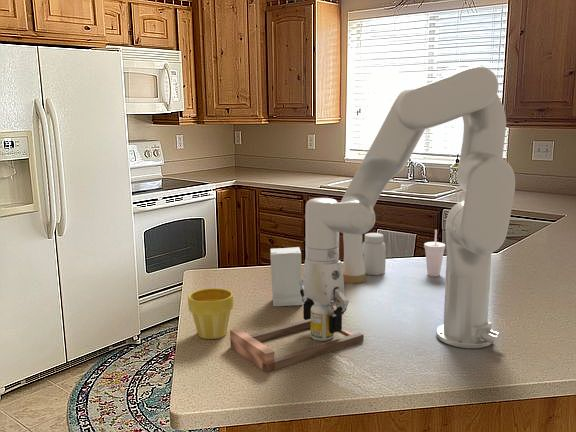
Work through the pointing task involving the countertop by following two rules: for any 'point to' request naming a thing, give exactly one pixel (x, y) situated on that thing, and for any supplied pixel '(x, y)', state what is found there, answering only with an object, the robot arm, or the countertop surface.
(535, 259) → the countertop surface
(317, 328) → the supplement bottle
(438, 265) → the smoothie
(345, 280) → the toiletry set
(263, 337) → the frame
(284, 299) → the skincare box
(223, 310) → the plant pot
